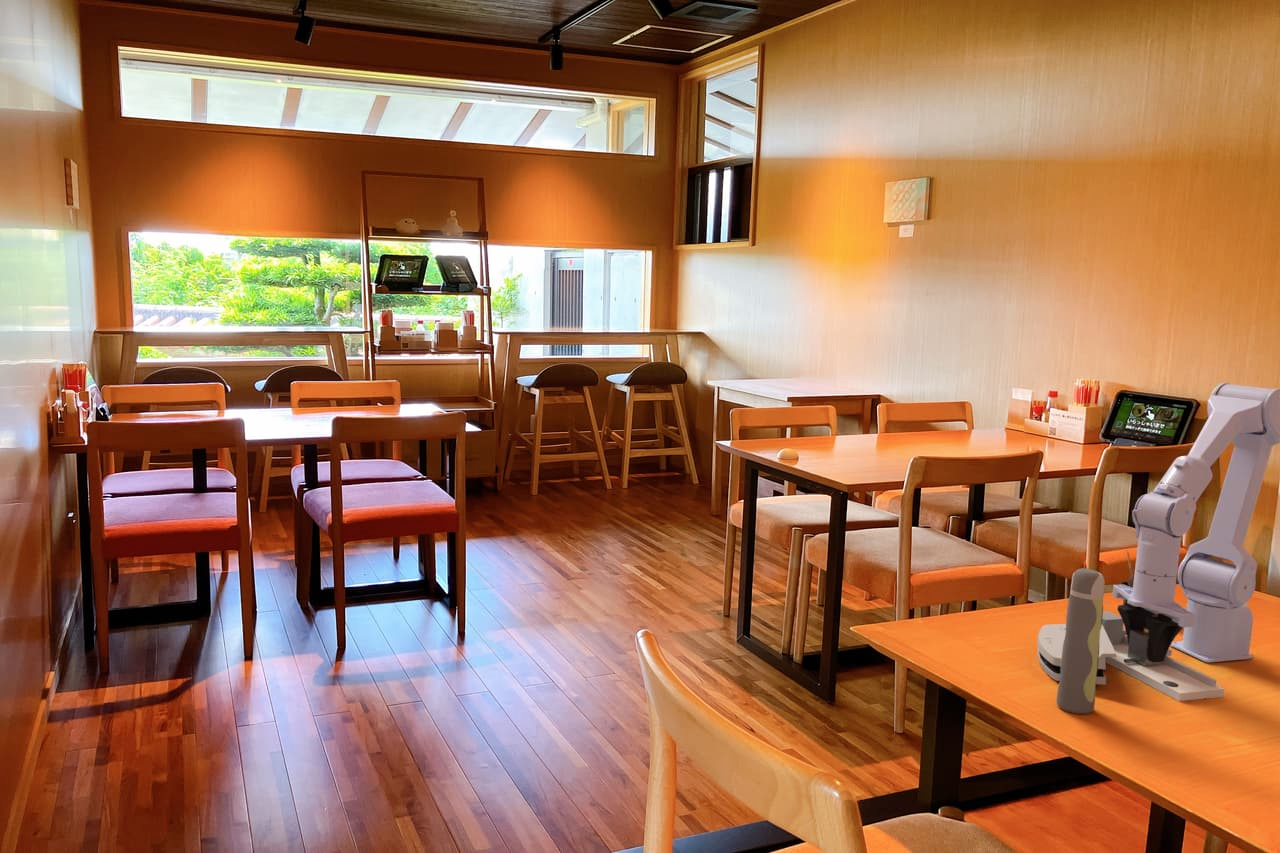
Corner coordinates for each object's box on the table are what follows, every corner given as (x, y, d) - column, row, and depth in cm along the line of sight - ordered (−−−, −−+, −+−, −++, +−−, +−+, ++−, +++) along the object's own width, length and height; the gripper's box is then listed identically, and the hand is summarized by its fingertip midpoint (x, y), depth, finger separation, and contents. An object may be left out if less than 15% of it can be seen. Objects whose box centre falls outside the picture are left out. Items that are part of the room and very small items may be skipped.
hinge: (1116, 654, 144) (1042, 653, 147) (1117, 685, 144) (1044, 683, 147) (1098, 616, 160) (1032, 615, 162) (1099, 644, 160) (1033, 643, 163)
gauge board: (1074, 645, 163) (1077, 613, 162) (1114, 642, 165) (1118, 610, 165) (1179, 701, 142) (1183, 664, 142) (1223, 696, 144) (1228, 660, 144)
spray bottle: (1100, 710, 138) (1115, 572, 135) (1082, 718, 135) (1098, 578, 132) (1066, 698, 142) (1080, 563, 139) (1049, 706, 139) (1063, 569, 136)
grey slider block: (1116, 658, 154) (1120, 625, 154) (1155, 654, 156) (1159, 622, 156) (1133, 666, 151) (1137, 634, 150) (1173, 663, 153) (1177, 630, 152)
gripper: (1100, 559, 157) (1091, 640, 159) (1171, 587, 144) (1160, 676, 146) (1137, 557, 159) (1127, 638, 161) (1210, 584, 145) (1199, 672, 147)
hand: (1146, 656), depth 154 cm, fingers closed on grey slider block, 4 cm apart
